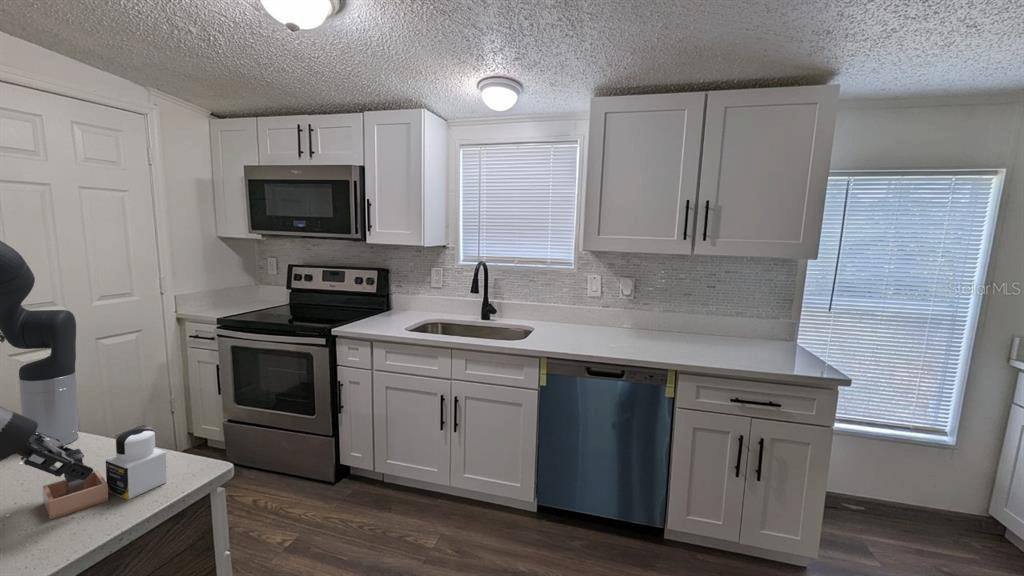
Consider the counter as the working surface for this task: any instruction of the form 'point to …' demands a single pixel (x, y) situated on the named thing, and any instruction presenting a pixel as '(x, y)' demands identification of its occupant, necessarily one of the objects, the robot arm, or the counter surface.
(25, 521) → the counter surface
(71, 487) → the metal pedestal tower
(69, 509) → the tray
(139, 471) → the medicine bottle
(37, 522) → the counter surface
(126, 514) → the counter surface
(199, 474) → the counter surface
